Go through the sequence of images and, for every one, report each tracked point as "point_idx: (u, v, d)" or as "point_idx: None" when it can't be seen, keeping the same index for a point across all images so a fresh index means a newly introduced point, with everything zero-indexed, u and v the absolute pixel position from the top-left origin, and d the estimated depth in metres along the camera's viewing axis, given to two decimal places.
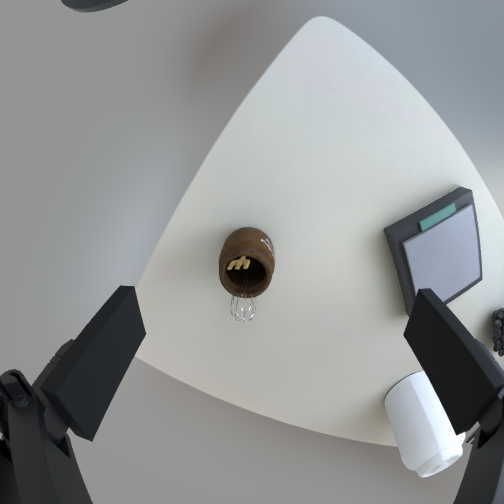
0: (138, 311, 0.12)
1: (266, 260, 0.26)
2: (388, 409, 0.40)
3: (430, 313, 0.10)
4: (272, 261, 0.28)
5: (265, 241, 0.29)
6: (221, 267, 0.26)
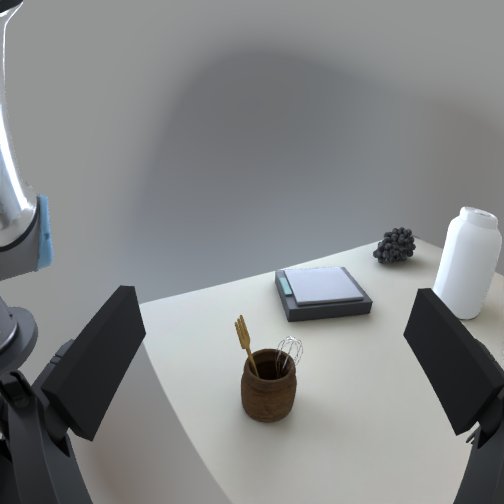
0: (138, 311, 0.12)
1: None
2: (470, 306, 0.37)
3: (430, 313, 0.10)
4: None
5: None
6: (252, 377, 0.24)
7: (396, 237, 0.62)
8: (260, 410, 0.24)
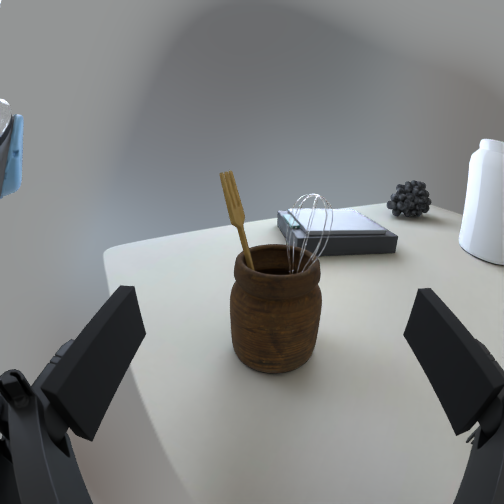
0: (138, 311, 0.12)
1: None
2: None
3: (430, 313, 0.10)
4: None
5: None
6: (248, 272, 0.15)
7: (410, 188, 0.53)
8: (263, 344, 0.15)
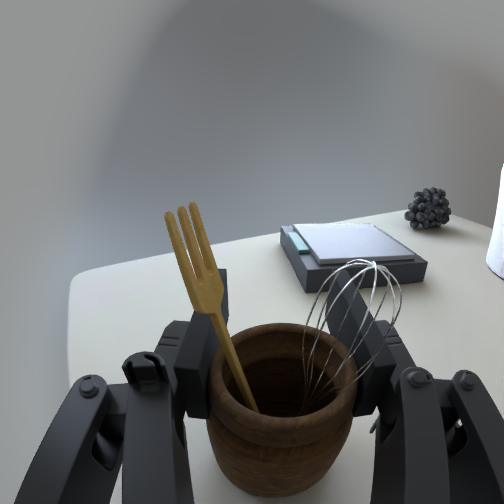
0: (227, 293, 0.13)
1: None
2: None
3: (337, 292, 0.12)
4: None
5: None
6: (229, 408, 0.07)
7: (430, 196, 0.45)
8: (257, 484, 0.07)
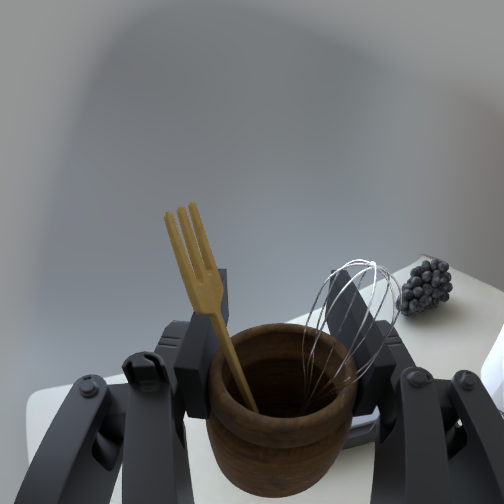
0: (227, 293, 0.13)
1: None
2: None
3: (337, 292, 0.12)
4: None
5: None
6: (229, 408, 0.07)
7: (429, 277, 0.38)
8: (257, 484, 0.07)
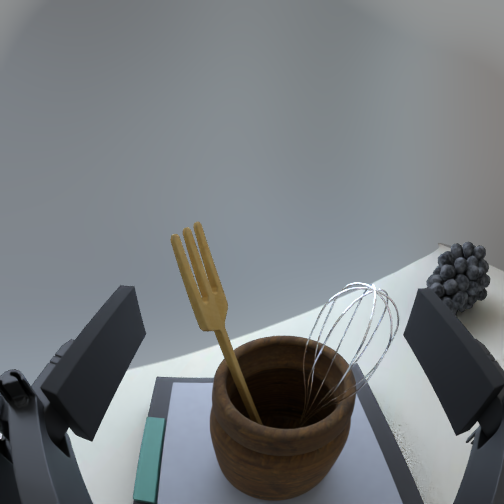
0: (138, 311, 0.12)
1: None
2: None
3: (430, 313, 0.10)
4: None
5: None
6: (234, 419, 0.07)
7: (465, 265, 0.24)
8: (259, 488, 0.08)
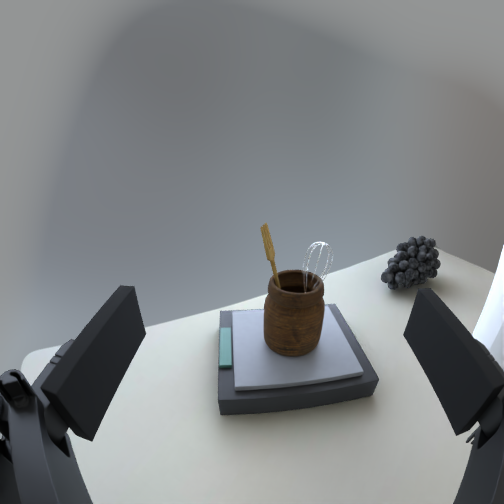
0: (138, 311, 0.12)
1: None
2: None
3: (430, 313, 0.10)
4: None
5: None
6: (279, 291, 0.23)
7: (415, 251, 0.40)
8: (287, 336, 0.24)
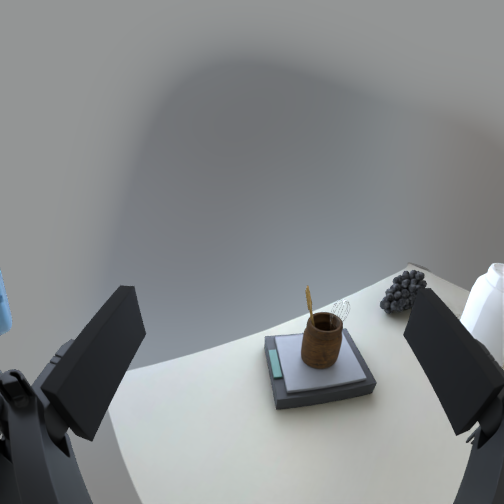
0: (138, 311, 0.12)
1: None
2: None
3: (430, 313, 0.10)
4: None
5: None
6: (316, 330, 0.35)
7: (407, 284, 0.52)
8: (319, 357, 0.36)
